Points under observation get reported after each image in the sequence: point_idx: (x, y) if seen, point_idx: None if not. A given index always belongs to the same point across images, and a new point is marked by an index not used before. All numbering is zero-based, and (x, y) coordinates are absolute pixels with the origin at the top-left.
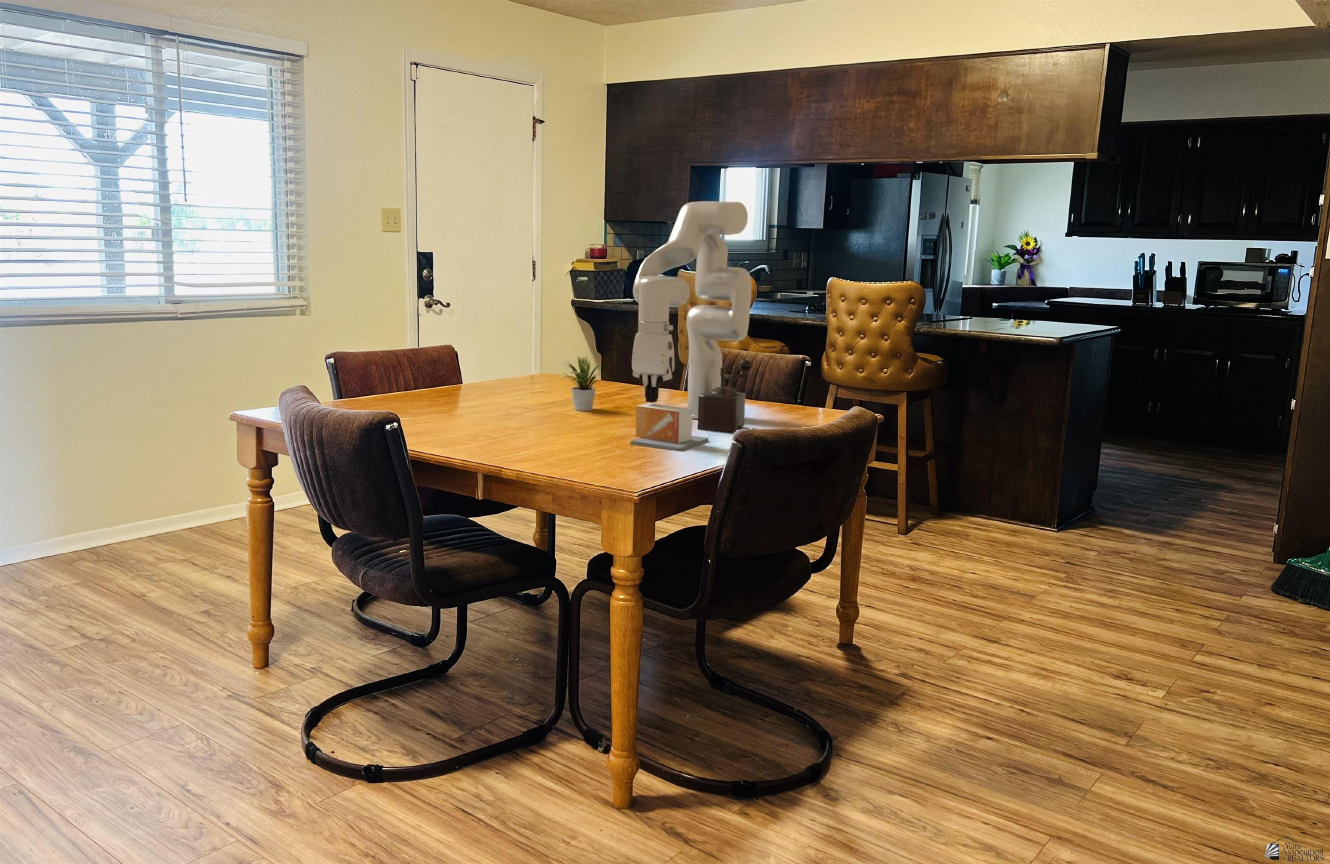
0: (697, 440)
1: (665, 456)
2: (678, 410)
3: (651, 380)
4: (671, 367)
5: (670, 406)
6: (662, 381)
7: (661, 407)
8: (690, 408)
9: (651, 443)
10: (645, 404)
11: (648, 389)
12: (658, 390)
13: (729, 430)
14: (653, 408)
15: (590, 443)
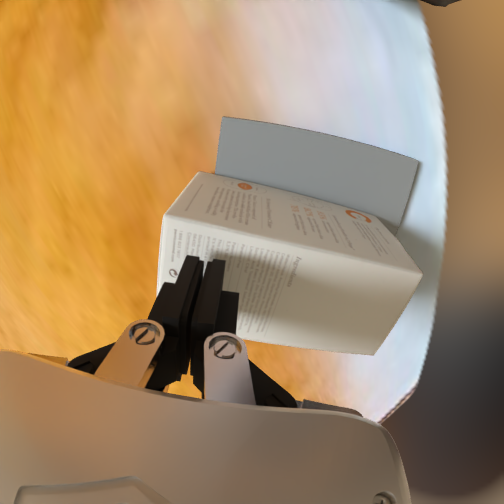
0: (393, 217)
1: (330, 367)
2: (369, 342)
3: (158, 363)
4: (369, 465)
5: (320, 285)
6: (273, 389)
7: (285, 323)
8: (416, 283)
9: None
10: (175, 279)
11: (187, 365)
12: (236, 322)
13: (435, 2)
14: (253, 339)
15: (120, 324)
